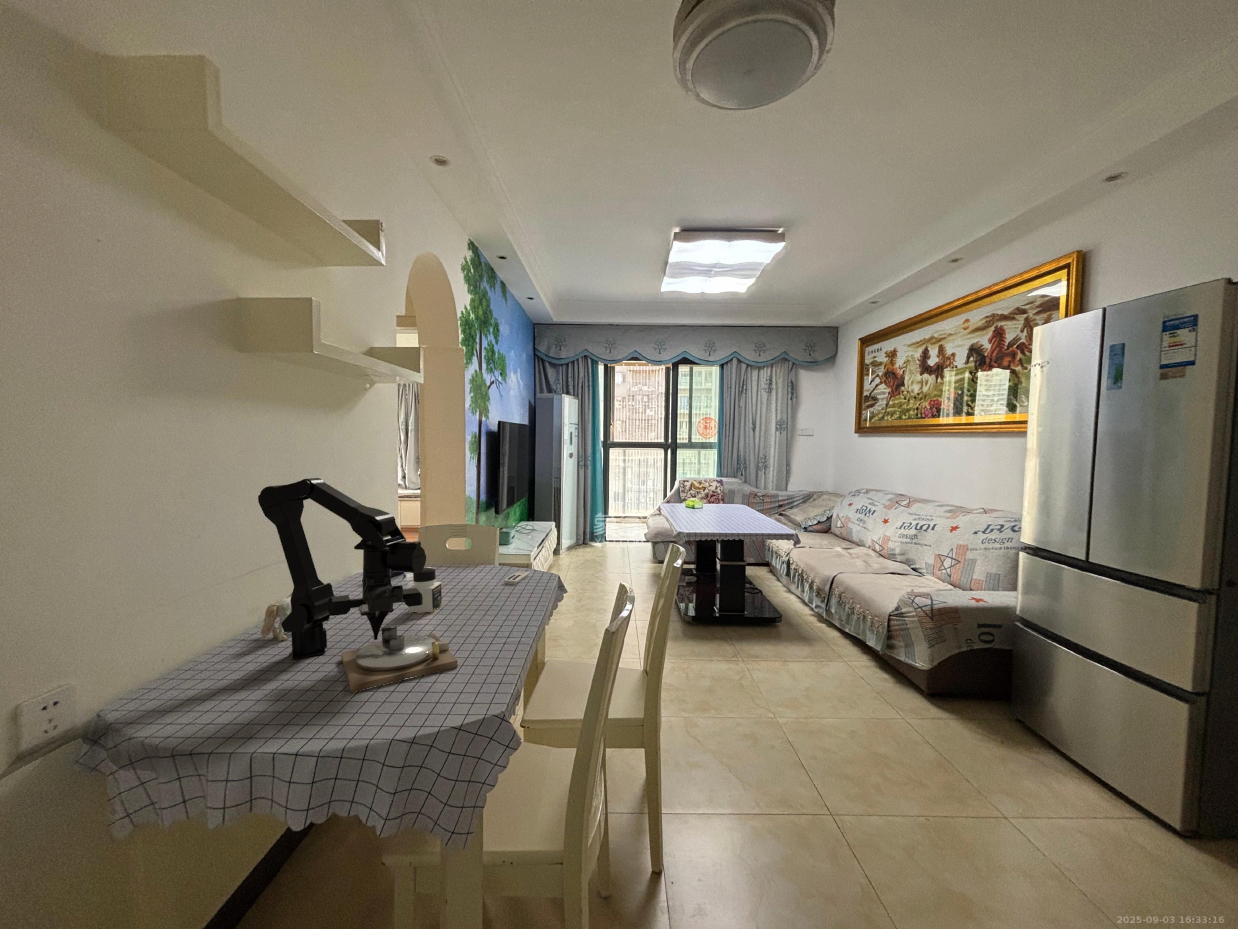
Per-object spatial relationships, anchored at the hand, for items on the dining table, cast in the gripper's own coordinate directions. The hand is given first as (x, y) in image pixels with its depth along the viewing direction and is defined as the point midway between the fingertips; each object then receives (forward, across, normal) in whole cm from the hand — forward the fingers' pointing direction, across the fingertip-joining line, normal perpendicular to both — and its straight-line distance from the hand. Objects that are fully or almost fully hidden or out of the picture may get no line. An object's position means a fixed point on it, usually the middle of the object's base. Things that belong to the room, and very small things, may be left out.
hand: (375, 639), depth 117 cm
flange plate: (+2, +5, -7) cm, 9 cm away
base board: (+4, +4, -7) cm, 9 cm away
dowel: (+2, +10, -13) cm, 17 cm away
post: (0, +3, -7) cm, 8 cm away
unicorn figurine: (+6, -18, +32) cm, 37 cm away
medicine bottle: (+4, +17, +30) cm, 35 cm away
